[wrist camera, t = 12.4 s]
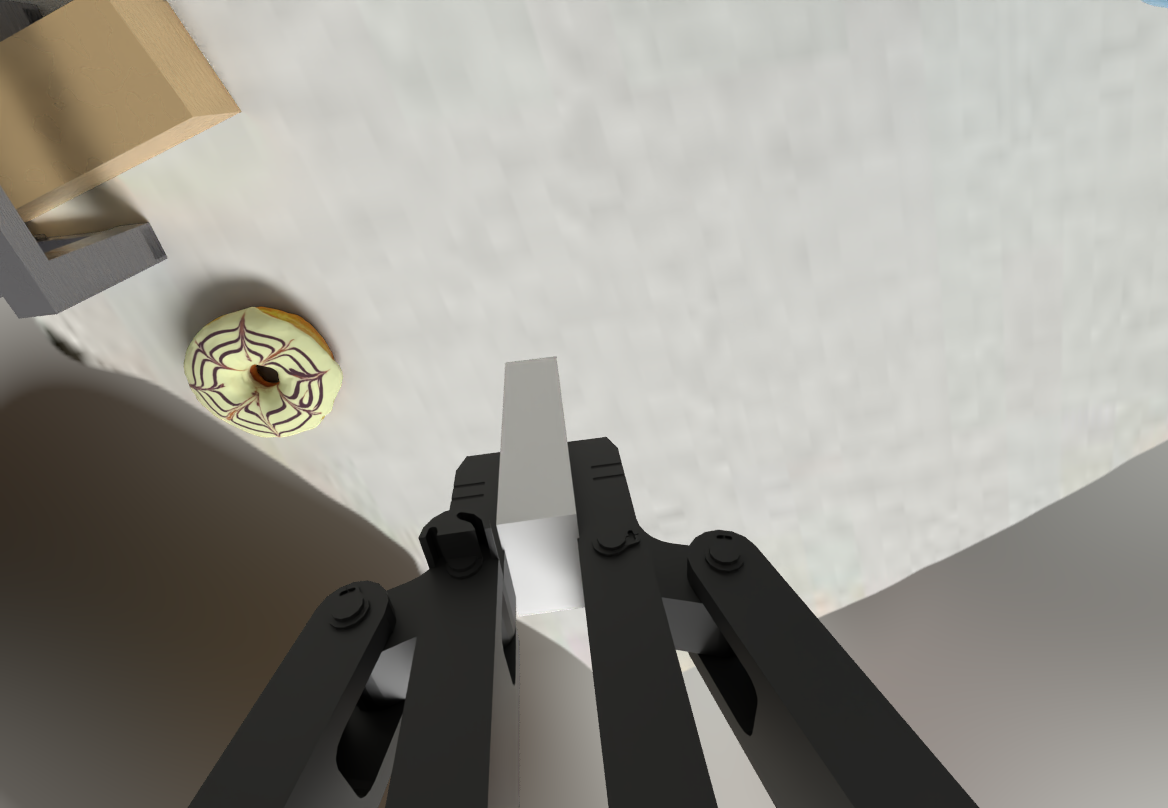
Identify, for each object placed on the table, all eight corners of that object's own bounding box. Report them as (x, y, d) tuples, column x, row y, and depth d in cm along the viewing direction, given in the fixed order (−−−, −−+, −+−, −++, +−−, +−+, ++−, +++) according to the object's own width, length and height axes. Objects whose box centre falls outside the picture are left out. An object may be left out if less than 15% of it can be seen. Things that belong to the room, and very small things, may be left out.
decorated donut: (371, 357, 43) (359, 379, 40) (302, 438, 46) (286, 464, 43) (246, 273, 39) (222, 291, 35) (180, 369, 42) (152, 393, 39)
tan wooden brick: (169, 1, 30) (96, -15, 25) (243, 111, 33) (191, 116, 28) (-95, 148, 33) (-212, 161, 27) (-3, 238, 36) (-93, 264, 31)
